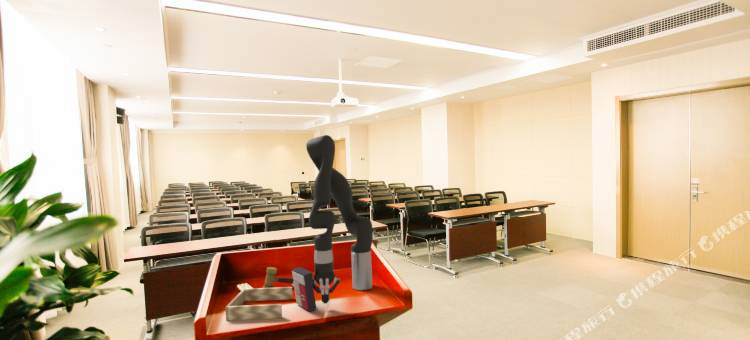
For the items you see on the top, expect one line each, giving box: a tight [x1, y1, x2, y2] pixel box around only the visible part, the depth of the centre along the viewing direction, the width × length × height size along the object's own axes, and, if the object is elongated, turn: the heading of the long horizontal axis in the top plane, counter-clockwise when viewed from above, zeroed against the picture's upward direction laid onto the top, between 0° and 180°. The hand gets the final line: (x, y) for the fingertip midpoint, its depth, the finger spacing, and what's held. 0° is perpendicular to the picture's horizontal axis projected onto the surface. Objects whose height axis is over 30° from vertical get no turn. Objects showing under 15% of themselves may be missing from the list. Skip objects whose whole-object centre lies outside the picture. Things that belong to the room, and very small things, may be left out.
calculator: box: [291, 266, 317, 312], centre depth 151 cm, size 11×4×15 cm, turn 38°
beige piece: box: [224, 286, 293, 321], centre depth 152 cm, size 21×20×5 cm
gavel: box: [262, 266, 294, 288], centre depth 176 cm, size 21×5×10 cm, turn 114°
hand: (325, 302), depth 152 cm, fingers closed
